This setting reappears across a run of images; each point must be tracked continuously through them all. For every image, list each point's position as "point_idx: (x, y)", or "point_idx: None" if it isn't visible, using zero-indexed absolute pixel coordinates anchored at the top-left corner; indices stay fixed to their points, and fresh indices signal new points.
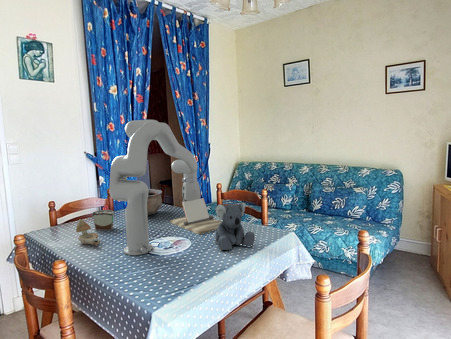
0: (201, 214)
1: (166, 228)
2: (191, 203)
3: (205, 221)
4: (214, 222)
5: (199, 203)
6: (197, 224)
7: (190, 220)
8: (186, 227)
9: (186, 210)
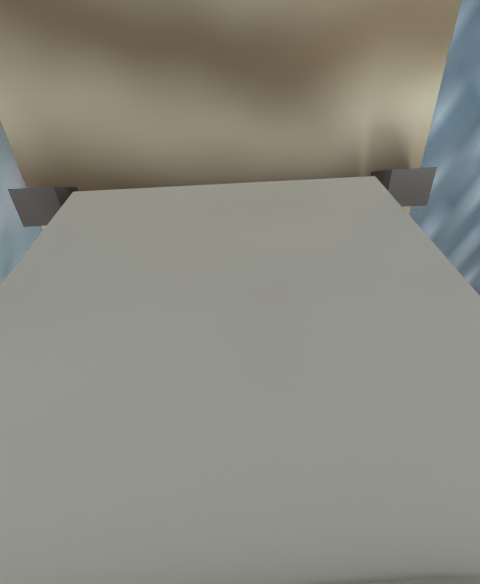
0: (164, 221)
1: (475, 280)
2: (328, 438)
3: (157, 158)
4: (67, 13)
5: (78, 403)
6: (293, 108)
7: (351, 187)
8: (425, 122)
9: (449, 289)
